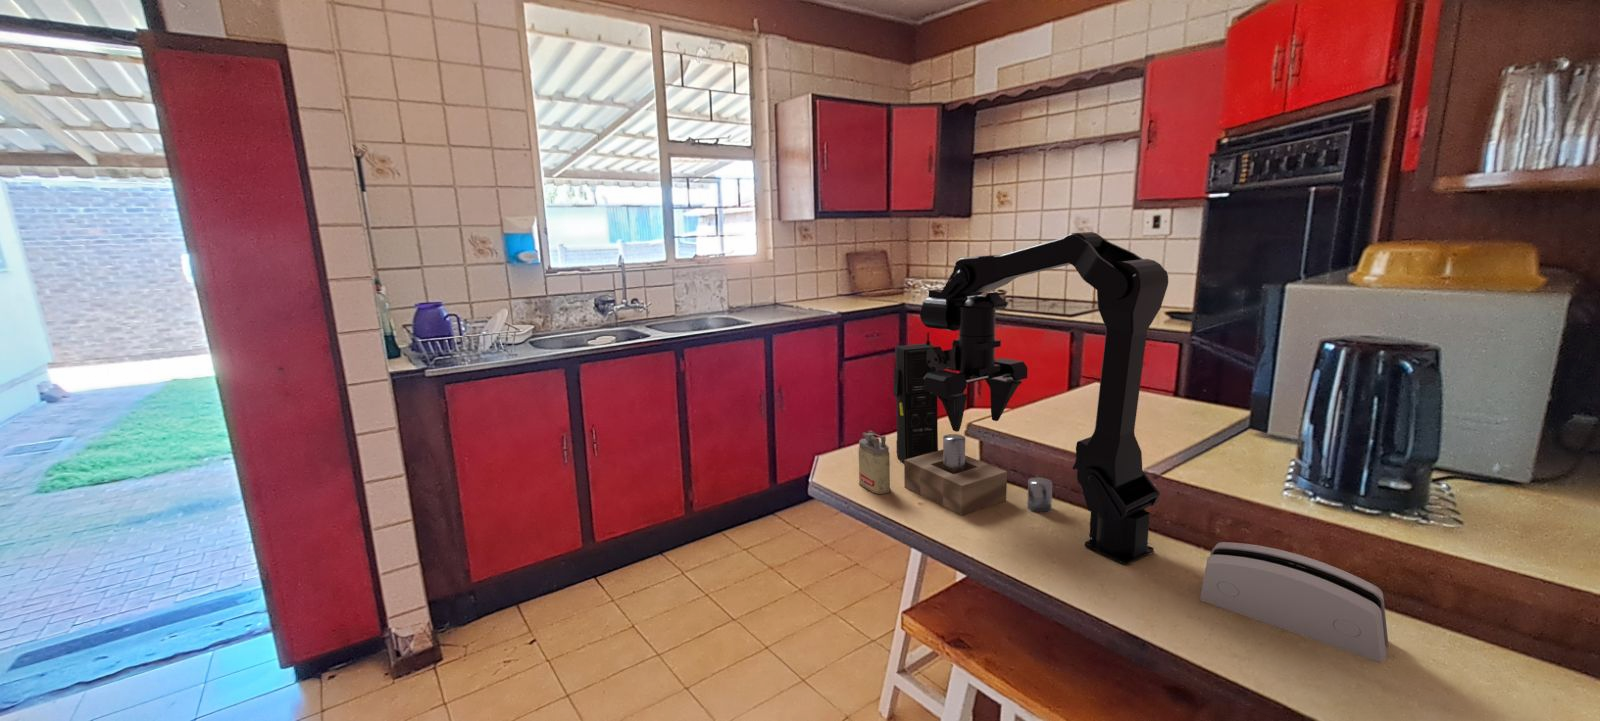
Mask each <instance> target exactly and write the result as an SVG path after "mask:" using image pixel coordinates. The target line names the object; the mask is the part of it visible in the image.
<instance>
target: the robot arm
mask: <svg viewBox="0 0 1600 721" xmlns="http://www.w3.org/2000/svg"><path fill="white" fill-rule="evenodd" d="M1070 265H1071V266H1072V267H1074V268H1075V270H1076V271H1077V273H1078V274H1079V275H1080V277H1081V279H1082V280H1083V281H1084V282H1085V283H1087V284H1088V285H1090V286H1091V287H1092V288H1094V289H1095V290H1096V296H1097V299H1096V300H1097V310H1098V312H1099V314H1100V317H1101V319H1102V322H1103V324H1104V326H1105V335H1104V336H1105V338H1104V346H1103V356H1102V365H1101V372H1100V373H1101V374H1100V382H1099V392H1098V399H1097V406H1096V407H1097V408H1096V409H1097V411H1096V420H1095V427H1094V431H1093V433H1092V435H1091V436H1089V437H1087V438H1086V437H1085V438H1084V439H1081V440H1078V441H1077V442H1076V444H1075V462H1074V464H1073V466H1072V469H1073V470H1074V471H1075V470H1076V481H1077V483H1078V485H1080V486H1081V489H1082V493H1083V496H1084V500H1085V504H1086V508H1087V510H1088V511H1089V512H1090V519H1089V532H1088V533H1089V534H1088V535H1089V538H1090V539H1088V540H1086V541H1084V542H1083V543H1084V547H1086V548H1087V549H1089V550H1092V551H1094V552H1097V553H1099V554H1101V555H1102V556H1104V557H1107V558H1110V559H1112V560H1113V561H1116V562H1118V563H1120V564H1123V565H1130V564H1132V563H1134V562H1136V561H1138V560H1140V559H1143V558H1144V557H1147V556H1149V555H1151V554H1153V553H1154V552H1155V551H1154V550H1155V548H1154V547H1152V546H1151V545H1148V541H1149V528H1150V518H1151V516H1150V515H1151V513H1150V512H1149V511H1147V510H1145V509H1147V508H1148V507H1149V508H1150V507H1152V506H1155V504H1156V503H1157V501H1158V499H1159V497H1160V496H1161V495H1160V491H1159V490H1158V489H1157V487H1156V486H1155V485H1154V484H1153V482H1152V481H1151V480H1150V479H1149V477H1148V476H1147V473H1145V472H1144V470H1143V457H1142V456H1143V455H1142V449H1141V447H1140V445H1139V443H1138V440H1137V437H1136V436H1135V428H1136V420H1137V412H1138V403H1139V397H1140V396H1139V395H1140V389H1141V380H1142V375H1143V374H1142V373H1143V366H1144V358H1145V352H1146V351H1145V350H1146V344H1147V342H1146V341H1147V335H1148V330H1149V328H1150V327H1151V324H1152V323H1153V321H1154V320H1155V319H1156V317H1157V314H1159V311H1160V309H1161V308H1162V305H1163V301H1164V298H1165V296H1166V293H1167V289H1168V285H1169V274H1168V272H1167V270H1166V269H1165V268H1164V267H1163V266H1162V265H1161V264H1160V263H1159V262H1157V261H1156V260H1154V259H1150V258H1142V257H1140V256H1139V255H1137V254H1136V253H1134V252H1132V251H1130V250H1128V249H1126V248H1124V247H1121V246H1119V245H1117V244H1115V243H1112V242H1109V241H1108V239H1105V238H1104V237H1103V236H1101V235H1100V234H1098V233H1096V232H1093V231H1088V232H1072V233H1069V234H1068V235H1065V236H1064V237H1061V238H1057V239H1054V240H1051V241H1050V240H1049V241H1046V242H1043V243H1040V244H1035V245H1031V246H1029V247H1025V248H1021V249H1018V250H1015V251H1012V252H1008V253H1003V254H991V255H978V256H968V257H967V256H966V257H961V258H959V259H958V260H957V261H955V266H954V267H953V270H952V273H951V274H950V276H949V277H948V279H947V281H946V283H945V285H944V287H943V289H942V288H941V289H940V288H939V289H937V288H936V289H935V288H934V289H929V290H928V296H927V297H926V299H925V300H924V301H923V302H922V305H921V308H920V310H919V318H920V321H921V323H922V324H923V326H924V327H926V328H929V329H935V330H944V331H951V332H956V331H958V338H956V339H953V341H952V342H951V343H952V344H951V348H950V349H945V350H943V349H942V347H941V346H936V347H934V348H930V349H927V363H928V366H929V367H935V368H936V371H935V372H930V373H927V374H926V375H925V377H924V379H923V390H927V391H930V393H931V394H933V395H936V396H937V399H939V400H940V401H941V403H942V406H943V408H944V410H945V412H946V416H947V418H948V420H949V424H950V426H951V429H952V431H953V432H957V433H958V432H960V429H961V426H962V423H963V419H964V418H963V417H964V412H965V408H966V404H967V398H968V394H967V393H965V391H966V389H967V385H968V384H971V383H976V382H981V381H985V382H986V383H987V386H988V388H989V392H990V393H989V395H990V397H989V398H990V414H991V420H992V421H993V422H994V421H995V422H998V421H999V420H1000V419H1001V416H1002V415H1003V413H1004V410H1005V409H1006V407H1007V406H1008V404H1009V402H1010V399H1011V398H1012V397H1013V395H1014V393H1016V391H1017V389H1018V387H1019V386H1020V385H1022V383H1023V380H1025V379H1028V368H1029V367H1028V366H1027V365H1026V364H1025V362H1024V361H1022V360H1016V359H1011V358H1004V357H1002V358H1000V357H999V358H996V357H995V356H996V348H998V347H999V348H1000V347H1001V346H1002V343H1001V342H1002V341H1001V340H1000V339H996V309H1000V308H1006V307H1007V306H1008V302H1007V301H1006V300H1005V299H1004V298H1002V297H1001V296H1000V294H999V292H997V291H994V290H997V289H999V288H1001V287H1004V286H1006V285H1008V284H1009V283H1011V282H1012V281H1013V280H1015V279H1017V278H1020V277H1023V276H1027V275H1031V274H1035V273H1040V272H1045V271H1048V270H1049V271H1050V270H1052V269H1057V268H1061V267H1065V266H1070ZM991 291H994V292H991ZM985 292H988V293H987V294H986V295H983V294H984V293H985ZM982 295H983V296H982ZM995 358H996V359H995Z"/></svg>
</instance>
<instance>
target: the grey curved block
mask: <svg viewBox="0 0 1600 721" xmlns="http://www.w3.org/2000/svg"><path fill="white" fill-rule="evenodd" d="M1206 559H1207V560H1206V565H1205V570H1204V575H1203V580H1202V585H1201V591H1200V595H1199V596H1200V599H1199V600H1200V601H1202V602H1206V603H1208V604H1211V605H1214V606H1217V607H1219V608H1222V609H1225V610H1227V611H1231V612H1233V613H1237V614H1240V615H1242V616H1245V617H1248V618H1250V619H1253V620H1257V621H1260V622H1261V623H1265V624H1268V625H1270V626H1273V627H1277V628H1280V629H1282V630H1284V631H1287V632H1290V633H1294V634H1296V635H1299V636H1302V637H1305V638H1307V639H1311V640H1313V641H1316V642H1319V643H1322V644H1325V645H1328V646H1331V647H1333V648H1336V649H1340V650H1343V651H1345V652H1348V653H1351V654H1353V655H1356V656H1359V657H1362V658H1365V659H1368V660H1370V661H1371V660H1372V661H1373V662H1376V663H1380V664H1382V663H1384V661H1385V660H1386V658H1387V650H1386V649H1387V648H1389V646H1390V645H1389V639H1388V638H1389V636H1388V628H1387V618H1386V610H1385V601H1384V593H1383V590H1381V589H1380V588H1379V587H1378V586H1376V585H1375V584H1373V583H1370V582H1368V581H1366V580H1365V579H1364V578H1363V579H1362V578H1360V577H1358V576H1357V575H1354V574H1352V573H1349V572H1347V571H1345V570H1343V569H1340V568H1339V567H1338V568H1337V567H1336V566H1333V565H1330V564H1328V563H1326V562H1322V561H1320V560H1316V559H1314V558H1310V557H1307V556H1306V555H1305V556H1304V555H1302V554H1298V553H1294V552H1290V551H1286V550H1282V549H1278V548H1274V547H1267V546H1264V545H1258V544H1250V543H1241V542H1231V541H1230V542H1228V541H1227V542H1226V541H1222V542H1218V543H1216V545H1215V546H1214V547H1213V548H1212V549H1211V550H1210V555H1209V556H1208V557H1207V558H1206Z"/></svg>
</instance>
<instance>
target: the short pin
mask: <svg viewBox="0 0 1600 721" xmlns="http://www.w3.org/2000/svg"><path fill="white" fill-rule="evenodd" d="M1027 480H1028V481H1027V482H1028V483H1027V503H1026V504H1027V505H1026V506H1027V507H1026V508H1027V509H1028V510H1029V511H1031V512H1034V513H1039V514H1047V513H1050V512H1051V511H1052V505H1053V504H1052V503H1053V502H1052V501H1053V481H1052V480H1050V479H1048V478H1046V477H1040V476H1039V477H1038V476H1037V477H1030V478H1029V479H1027Z"/></svg>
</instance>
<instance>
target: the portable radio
mask: <svg viewBox="0 0 1600 721" xmlns="http://www.w3.org/2000/svg"><path fill="white" fill-rule="evenodd" d="M934 347H937V346H936V345H934V344H931V340H930V331H926V341H925V343H916V344H906V345H896V346H895V348H894V352H895V353H894V354H895V356H894V358H895V363H896V364H895V365H896V366H895V367H894V374H893V375H894V376H893V378H894V379H893V396H894V397H896V457H897V459H899V461H901V462H902V463H904V460H906V459H909V458H913V457H917V456H920V455H924V454H928V453H932V452H935V451H939V437H938V430H939V429H938V426H939V425H938V397H937V396H936V395H933V394H931V393H930V391H927V390H923V379H924V377H925V375H926V374H927V373H930V372H935V371H936V368H935V367H929V366H928V363H927V349H930V348H934Z"/></svg>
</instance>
